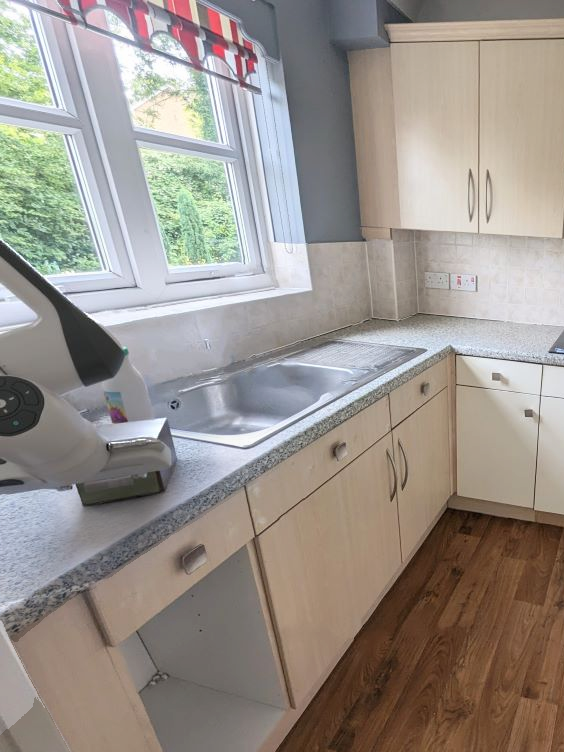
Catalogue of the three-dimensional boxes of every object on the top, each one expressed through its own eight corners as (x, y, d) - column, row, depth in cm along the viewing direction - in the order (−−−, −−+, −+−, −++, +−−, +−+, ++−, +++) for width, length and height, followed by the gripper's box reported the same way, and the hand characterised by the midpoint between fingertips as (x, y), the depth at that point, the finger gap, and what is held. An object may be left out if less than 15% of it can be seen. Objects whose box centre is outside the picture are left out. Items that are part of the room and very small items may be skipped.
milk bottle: (154, 420, 115) (134, 343, 108) (158, 429, 110) (138, 349, 103) (113, 427, 109) (89, 347, 103) (116, 438, 104) (91, 354, 97)
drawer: (154, 503, 80) (143, 464, 77) (75, 518, 75) (60, 476, 72) (171, 460, 94) (162, 425, 92) (105, 470, 90) (94, 434, 87)
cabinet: (165, 491, 85) (153, 445, 82) (82, 506, 80) (66, 458, 76) (177, 458, 97) (167, 417, 94) (106, 469, 91) (92, 426, 88)
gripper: (157, 420, 70) (181, 451, 81) (-36, 443, 60) (21, 474, 71) (159, 458, 67) (183, 484, 79) (-42, 488, 58) (18, 513, 69)
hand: (105, 479), depth 75 cm, fingers open, 8 cm apart
